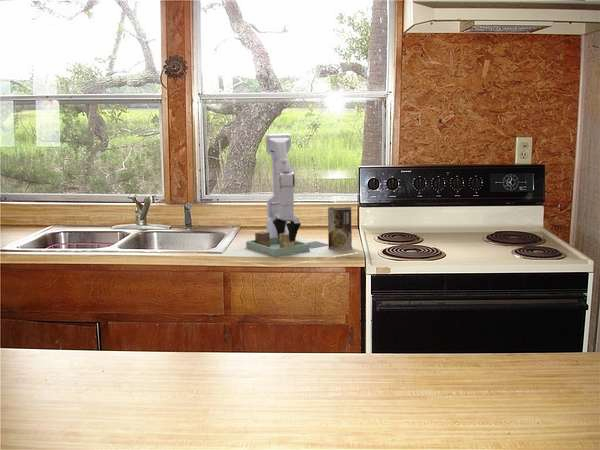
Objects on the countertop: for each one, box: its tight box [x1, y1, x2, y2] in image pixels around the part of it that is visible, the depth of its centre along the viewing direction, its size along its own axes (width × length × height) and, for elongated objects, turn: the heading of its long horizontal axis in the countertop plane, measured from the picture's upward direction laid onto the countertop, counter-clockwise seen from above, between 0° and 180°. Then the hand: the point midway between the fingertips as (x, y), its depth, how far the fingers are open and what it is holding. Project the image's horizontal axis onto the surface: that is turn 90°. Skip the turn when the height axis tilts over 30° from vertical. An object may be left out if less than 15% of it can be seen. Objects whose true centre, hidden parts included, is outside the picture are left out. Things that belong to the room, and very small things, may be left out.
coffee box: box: [327, 206, 353, 250], centre depth 250 cm, size 9×6×16 cm
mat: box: [306, 240, 328, 249], centre depth 257 cm, size 10×10×1 cm
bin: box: [245, 237, 311, 258], centre depth 249 cm, size 20×16×3 cm
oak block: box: [279, 232, 294, 248], centre depth 249 cm, size 4×4×6 cm
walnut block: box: [254, 230, 270, 247], centre depth 252 cm, size 4×4×6 cm
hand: (286, 239), depth 249 cm, fingers open, 7 cm apart
